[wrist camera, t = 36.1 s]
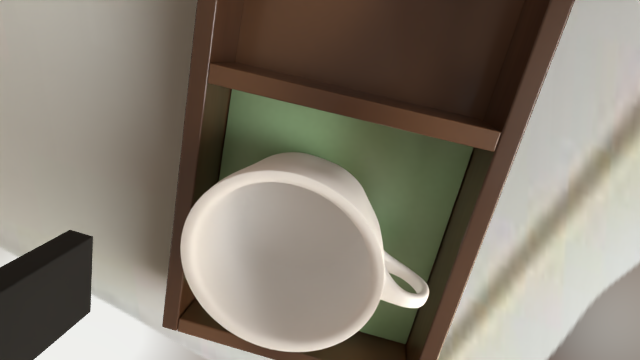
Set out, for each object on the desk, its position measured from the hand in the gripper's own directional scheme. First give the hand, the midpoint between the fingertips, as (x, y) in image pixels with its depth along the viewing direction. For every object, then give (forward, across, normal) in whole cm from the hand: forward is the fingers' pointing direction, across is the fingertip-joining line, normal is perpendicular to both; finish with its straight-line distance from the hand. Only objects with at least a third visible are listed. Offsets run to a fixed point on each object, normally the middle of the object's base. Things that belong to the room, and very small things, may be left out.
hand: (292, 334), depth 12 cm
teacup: (+9, 0, 0) cm, 9 cm away
